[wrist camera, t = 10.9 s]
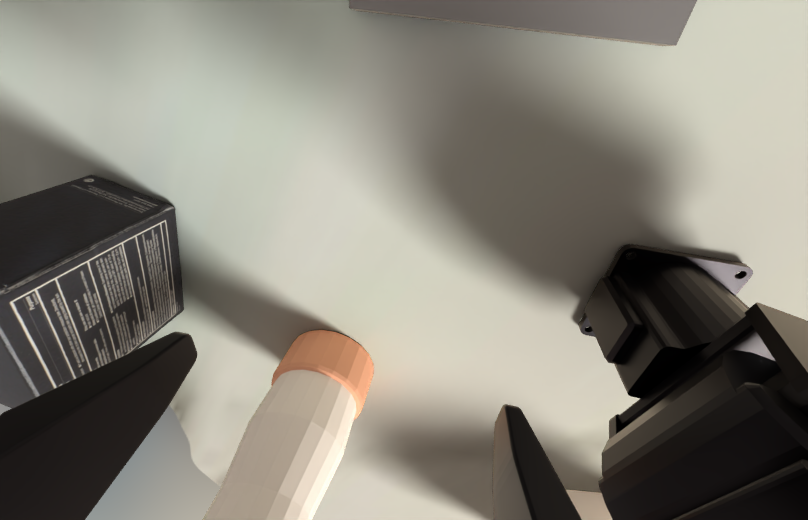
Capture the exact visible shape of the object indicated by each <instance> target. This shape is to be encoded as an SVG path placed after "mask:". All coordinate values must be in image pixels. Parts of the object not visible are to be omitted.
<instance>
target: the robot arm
mask: <svg viewBox="0 0 808 520" xmlns="http://www.w3.org/2000/svg"><path fill="white" fill-rule="evenodd" d="M629 252H633V254H632V255H630V256H626V255H627V253H629ZM740 271H741V272H740ZM737 272H740V273H739V274H736V273H737ZM735 274H736V275H735ZM752 274H753V270H752V269H751V268H750V267H748V266H747V265H746V264H743V263H739V262H733V261H727V260H721V259H715V258H710V257H704V256H698V255H692V254H686V253H680V252H674V251H669V250H663V249H657V248H651V247H645V246H639V245H633V244H628V245H624V246H623V247H621V248H620V250H619V251H618V253H617V255H616V256H615V258H614V260H613V262H612V264H611V266H610V267H609V269H608V271H607V273H606V275H605V276H604V277H602V278H601V279H600V281H599V283H598V285H597V287H596V288H595V290H594V292H593V294H592V296H591V298H590V300H589V302H588V303H587V305H586V307H585V309H584V311H585V314H584V316H583V317H582V319H581V321H580V323H579V328H580V330H581V332H582V333H583V334H585V335H589V336H594V337H596V339H597V341H598V343H599V345H600V348H601V350H602V352H603V355H604V357H605V359H606V360H607V361H608V363H613V364H615V367H616V369H617V371H618V373H619V375H620V378H621V380H622V382H623V384H624V386H625V389H626V391H627V393H628V395H630V396H632V397H637V398H641V399H640V400H638V401H637V402H636V403H634V404H633V405H632V406H631V407H629V408H628V409H627V410H626V411H624V412H623V413H622V414H621V415H618V414H617V415H615V416H614V417H613V418H612V419H610V421H609V440H608V441H607V444H606V446H605V448H604V450H603V452H602V475H603V477H602V478H600V479H599V487H600V490H601V493H602V496H603V499H604V502H605V505H606V507H607V509H608V511H609V513H610V515H611V517H612V519H613V520H808V321H806V320H804V319H801V318H798V317H795V316H793V315H790V314H787V313H785V312H782V311H779V310H777V309H774V308H771V307H768V306H766V305H763V304H760V303H756V304H754V305H753V306H752V307H751V308H749V307H748V306H747V305H745V304H744V303H743V302H742V301H741V300H740V299H739V298H738V297H737V296H736V294H737V293H738V292H739V291H740V289H741V288H742V287H743V286H744V285H745V283H746V282H747V281H748V280H749V279H750V278H751V276H752ZM588 326H591V327H589V328H586V327H588ZM196 358H197V351H196V348H195V345H194V342H193V339H192V337H191V335H189V334H186V333H181V332H173V333H171V334H169V335H166V336H164V337H162V338H160V339H158V340H156V341H154V342H152V343H150V344H147V345H145V346H143V347H141V348H139V349H137V350H135V351H133V352H131V353H128V354H126V355H124V356H122V357H120V358H118V359H116V360H114V361H111V362H109V363H107V364H105V365H103V366H101V367H99V368H97V369H95V370H92V371H90V372H88V373H86V374H84V375H82V376H80V377H78V378H76V379H73V380H71V381H69V382H67V383H65V384H63V385H61V386H59V387H57V388H54V389H52V390H50V391H48V392H46V393H44V394H42V395H40V396H38V397H35V398H33V399H31V400H29V401H27V402H25V403H23V404H21V405H18V406H16V407H14V408H12V409H10V410H8V411H6V412H4V413H2V414H1V415H0V520H85V519H86V518H87V516H88V515H89V513H90V512H91V511H92V509H93V508H94V507H95V505H96V504H97V503H98V501H99V500H100V499H101V497H102V496H103V495H104V493H105V492H106V490H107V489H108V488H109V486H110V485H111V484H112V482H113V481H114V480H115V478H116V477H117V476H118V474H119V473H120V471H121V470H122V469H123V467H124V466H125V465H126V463H127V462H128V461H129V459H130V458H131V457H132V455H133V454H134V452H135V451H136V450H137V448H138V447H139V446H140V444H141V443H142V442H143V440H144V439H145V438H146V436H147V435H148V434H149V432H150V431H151V429H152V428H153V427H154V425H155V424H156V423H157V421H158V420H159V419H160V417H161V416H162V414H163V413H164V412H165V410H166V409H167V407H168V405H169V404H170V402H171V401H172V399H173V397H174V396H175V394H176V392H177V391H178V389H179V388H180V386H181V384H182V383H183V381H184V379H185V378H186V376H187V374H188V373H189V371H190V369H191V368H192V366H193V364H194V363H195V361H196ZM493 508H494V520H582V519H581V517H580V515H579V513H578V512H577V510H576V508H575V506H574V504H573V503H572V501H571V499H570V497H569V495H568V493H567V492H566V490H565V488H564V486H563V484H562V483H561V481H560V479H559V477H558V475H557V474H556V472H555V470H554V468H553V466H552V465H551V463H550V461H549V459H548V457H547V456H546V454H545V452H544V450H543V448H542V447H541V445H540V443H539V441H538V439H537V437H536V436H535V434H534V432H533V430H532V428H531V427H530V425H529V423H528V421H527V419H526V418H525V416H524V414H523V412H522V411H521V409H520V408H519V407H516V406H511V405H507V404H505V405H503V407H502V408H501V411H500V413H499V415H498V417H497V420H496V422H495V428H494V455H493Z"/></svg>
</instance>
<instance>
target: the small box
mask: <svg viewBox="0 0 808 520" xmlns="http://www.w3.org/2000/svg"><path fill="white" fill-rule="evenodd" d="M183 310H184V307H183V294H182V282H181V272H180V261H179V249H178V238H177V227H176V216H175V208H174V207H173V206H171V205H169V204H166V203H165V202H161V201H158V200H155V199H153V198H150V197H147V196H145V195H142V194H140V193H137V192H135V191H132V190H130V189H127V188H125V187H122V186H120V185H117V184H115V183H113V182H110V181H107V180H105V179H102V178H99V177H96V176H93V175H89V176H86V177H83V178H81V179H78V180H74V181H71V182H68V183H65V184H62V185H58V186H55V187H52V188H49V189H46V190H43V191H40V192H36V193H33V194H30V195H27V196H24V197H21V198H17V199H14V200H11V201H8V202H5V203H1V204H0V403H1V404H3V405H5V406H8V407H10V408H14V407H16V406H18V405H21V404H23V403H25V402H27V401H29V400H31V399H33V398H35V397H38V396H40V395H42V394H44V393H46V392H48V391H50V390H52V389H54V388H57V387H59V386H61V385H63V384H65V383H67V382H69V381H71V380H73V379H76V378H78V377H80V376H82V375H84V374H86V373H88V372H90V371H92V370H95V369H97V368H99V367H101V366H103V365H105V364H107V363H109V362H111V361H114V360H116V359H118V358H120V357H122V356H124V355H126V354H128V353H131V352H133V351H135V350H137V349H138V348H139V347H140V346H141V345H142V344H144V343H145V342H146V341H147V340H148V339H149V338H150V337H152V336H153V335H154V334H156V333H157V332H158V331H159V330H160V329H161V328H162V327H164V326H165V325H166V324H167V323H168V322H170V321H171V320H172V319H173V318H175V317H176V316H177V315H178V314H180V313H181V312H182V311H183Z"/></svg>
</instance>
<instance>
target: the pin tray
mask: <svg viewBox="0 0 808 520" xmlns="http://www.w3.org/2000/svg"><path fill="white" fill-rule="evenodd" d="M696 2H697V0H349V8H351V9H353V10H356V11H364V12H372V13H381V14H390V15H398V16H407V17H416V18H424V19H433V20H442V21H450V22H459V23H468V24H476V25H485V26H494V27H503V28H511V29H520V30H529V31H537V32H546V33H555V34H563V35H572V36H581V37H589V38H598V39H607V40H615V41H624V42H633V43H641V44H650V45H659V46H676V44H677V42H678V40H679V38H680V36H681V34H682V32H683V29H684V27H685V25H686V23H687V21H688V19H689V17H690V14H691V12H692V10H693V8H694V6H695V4H696Z"/></svg>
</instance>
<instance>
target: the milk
mask: <svg viewBox="0 0 808 520" xmlns="http://www.w3.org/2000/svg"><path fill="white" fill-rule="evenodd" d="M565 490H566V492H567V493H568V495H569V497H570V499H571V501H572V503H573V504H574V506H575V508H576V510H577V512H578V513H579V515H580V517H581V519H582V520H613V519H612V517H611V515H610V513H609V511H608V509H607V507H606V505H605V502H604V499H603V496H602V493H599V492H588V491H577V490H567V489H565Z"/></svg>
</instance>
